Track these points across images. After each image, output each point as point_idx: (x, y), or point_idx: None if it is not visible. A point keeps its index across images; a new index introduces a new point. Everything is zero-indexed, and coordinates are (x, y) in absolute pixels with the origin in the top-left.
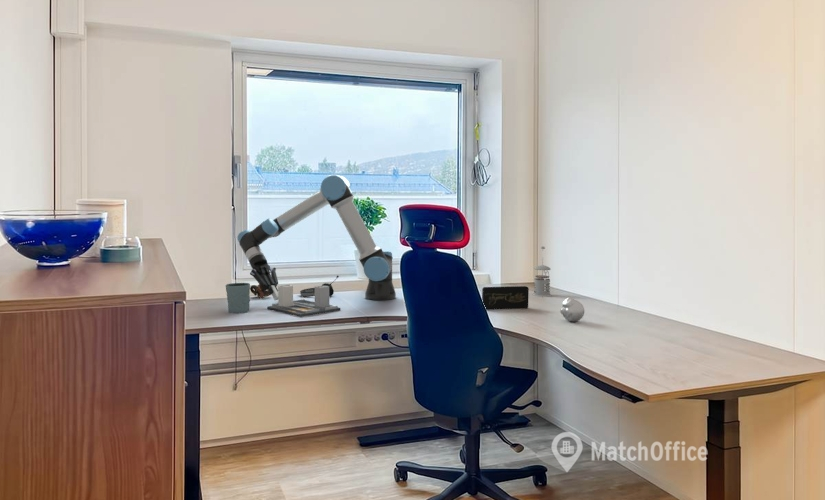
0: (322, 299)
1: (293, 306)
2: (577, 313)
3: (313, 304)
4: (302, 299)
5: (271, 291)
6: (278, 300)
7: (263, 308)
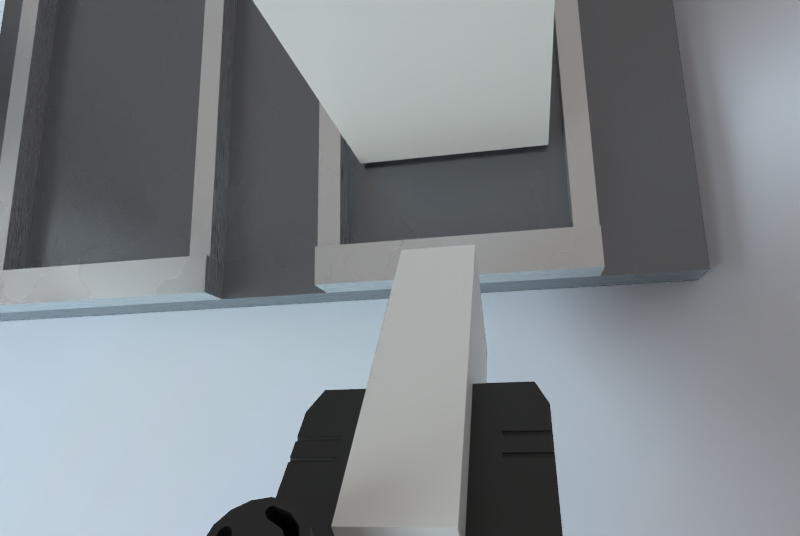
0: None
1: None
2: None
3: (93, 3)
4: (3, 291)
5: (532, 394)
6: (549, 93)
7: (711, 405)
